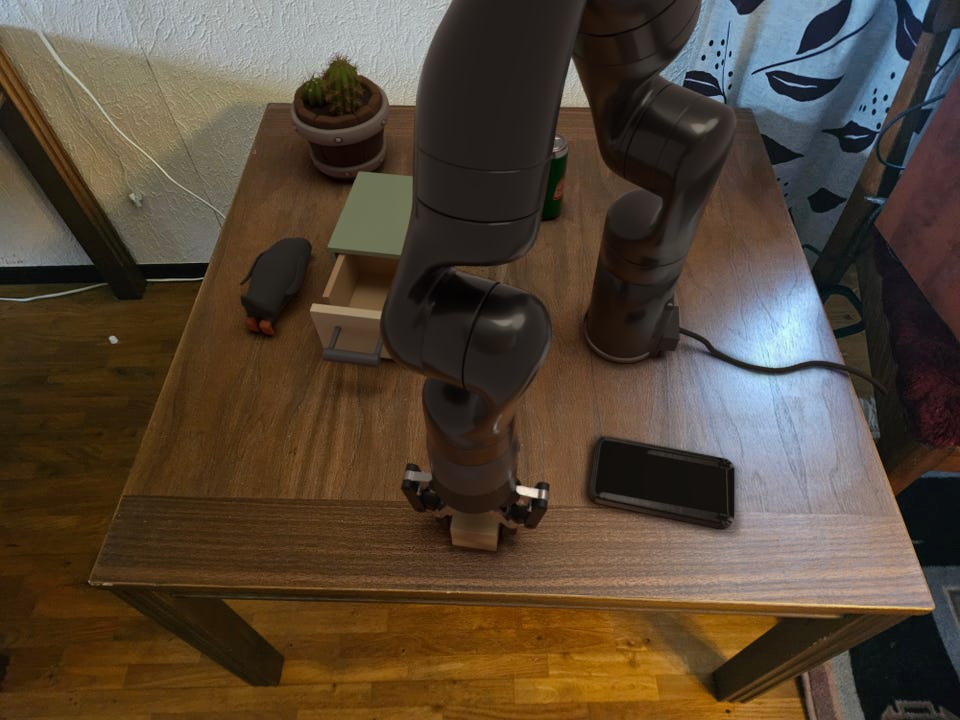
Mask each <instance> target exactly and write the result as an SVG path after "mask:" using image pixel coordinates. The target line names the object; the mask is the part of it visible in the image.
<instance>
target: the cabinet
mask: <svg viewBox="0 0 960 720" xmlns="http://www.w3.org/2000/svg"><path fill="white" fill-rule="evenodd" d="M412 188H413V175H404V174H403V175H402V174H390V173H381V172H374V173H371V172H360V171H359V172H358V174H357V177H356V179H355V180H354V182H353V184H352V186H351V189H350V191H349V194H348V196H347V198H346V201H345V203H344V206H343V208H342V210H341V212H340V215H339V217H338V220H337V222H336V224H335V227H334V230H333V231H332V234H331V237H330V239H329V242H328V244H327V246H326V248H327V252H328V255H329V258H330V261H331V264H332V268H333V269H334V266H335V264H336V261H337V259H338V256H339V254H340V253H345V254H355V255H364V256H374V257H383V258H393V259H400V255H401V252H402V248H403V244H404V240H405V237H406V233H407V228H408V224H409V220H410V215H411V209H412Z"/></svg>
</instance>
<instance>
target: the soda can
mask: <svg viewBox="0 0 960 720" xmlns="http://www.w3.org/2000/svg"><path fill="white" fill-rule="evenodd" d="M567 141H568V140H567V138H566V137H565V135H563V134H562V133H559V132H556V134H555V141H554V147H553V152H552V159H551V165H550V171H549V177H548V183H547V189H546V195H545V201H544V207H543V213H542V219H541V220H551V219H553V218H555V217H557V216H558V215H560V213H561V212H562V210H563V202H564V195H565V194H564V193H565V185H566V176H567V168H568V159H569V150H570V148H569V145H568V142H567Z"/></svg>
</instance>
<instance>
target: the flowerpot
mask: <svg viewBox="0 0 960 720" xmlns="http://www.w3.org/2000/svg"><path fill="white" fill-rule="evenodd" d="M343 52H344V51H341V54H340V52H334V51H332V53H333V55H334V58H330V59H329V58H328V59H326V60H325V62H327V64H326V63H325V64H324V65H325V67H327V68H326V69H322V72H317V71H316V70H315V71H314V70H313V73H311V72H310V71H308V72H309V73H308V72H307V75H308V76H309V77H310V79H309V80H308V79H307V76H304V77H303V81H302V82H301V83H299V84H298V87H297V89H296V90H295V92H294V96H293V100H292V102H291V105H290V120H291V124H292V129H293V131H294V132H296V134H297V135H298V136H300V137H301V138H303V139H305V141H306V142H307V143H308V145H309V154H310V158H311V160H312V162H313V166H314V167H317V169H318V170H319V171H320V172H322V173H324V174H325V176H328V177H329V178H332V179H335V180H336V181H337V180H338V181H353V180H354V181H355V179H356V177H357V174H358V172H359V171H360V172H371V173H376V172H377V171H378V170H379V168H380V167H381V165H382V164H383V162H384V160H385V157H386V154H387V153H386V152H387V140H386V137H385V126H386V125H387V123H388V121H389V118H390V112H391V111H390V109H391V108H390V103H389V99H388V95H387V93H386V92H385V91H384V89H383V88H382V87H381V86H380V85H378V84H377V83H375V82H374V81H372V80H371V79H369V78H368V77H367V76H364V75H363V74H358V72H360V69H358V68H359V65H358V64H357V63H356V62H354V65H353V64H351V61H352V58H349V55H347V54H346V56H343ZM337 53H338V54H337ZM348 58H349V59H348ZM309 74H310V75H309ZM315 74H316V75H317V76H318V77H315Z"/></svg>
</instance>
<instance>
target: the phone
mask: <svg viewBox="0 0 960 720" xmlns="http://www.w3.org/2000/svg"><path fill="white" fill-rule="evenodd" d="M735 473H736V472H735V466H734V464H733V463H732V462H731V461H730V460H729V459H727V458H726V457H725V458H724V457H720V456H716V455H710V454H704V453H699V452H695V451H694V452H693V451H689V450H683V449H678V448H672V447H668V446H662V445H658V444H652V443H646V442H643V441H642V442H641V441H637V440H631V439H626V438H620V437H615V436H611V435H602V436H600V437H598V439H597V441H596V444H595V447H594V453H593V461H592V469H591V474H590V482H589V489H588V495H589V498H590V499H591V501H593V502H594V503H596V504H599V505H604V506H608V507H612V508H613V507H615V508H618V509H624V510H627V511H628V510H629V511H633V512H638V513H643V514H647V515H653V516H658V517H662V518H666V519H671V520H677V521H682V522H686V523H692V524H696V525H701V526H705V527H710V528H716V529H721V530H724V529H728V527H730V525H731V524H732V523H733V522H734V520H735V512H736V511H735V509H736V508H735V507H736V505H735V503H736V502H735V500H736V499H735V498H736V497H735V491H736V489H735V485H736V483H735V480H736V479H735Z"/></svg>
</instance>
